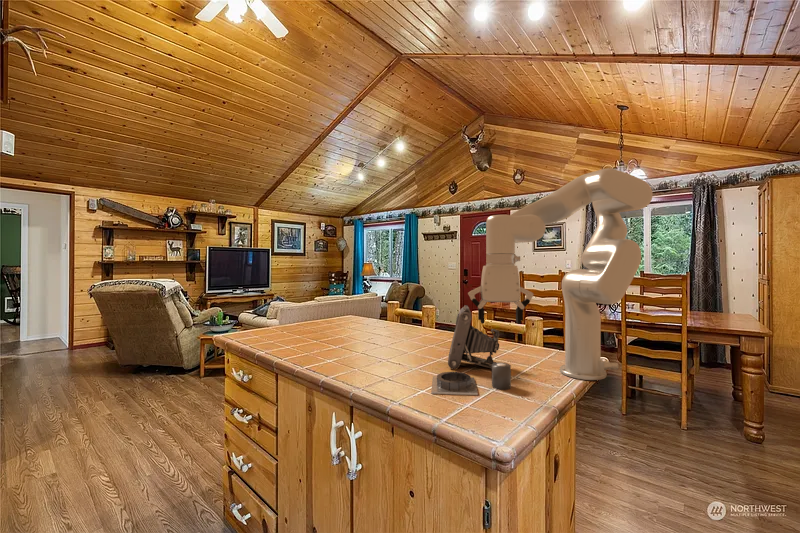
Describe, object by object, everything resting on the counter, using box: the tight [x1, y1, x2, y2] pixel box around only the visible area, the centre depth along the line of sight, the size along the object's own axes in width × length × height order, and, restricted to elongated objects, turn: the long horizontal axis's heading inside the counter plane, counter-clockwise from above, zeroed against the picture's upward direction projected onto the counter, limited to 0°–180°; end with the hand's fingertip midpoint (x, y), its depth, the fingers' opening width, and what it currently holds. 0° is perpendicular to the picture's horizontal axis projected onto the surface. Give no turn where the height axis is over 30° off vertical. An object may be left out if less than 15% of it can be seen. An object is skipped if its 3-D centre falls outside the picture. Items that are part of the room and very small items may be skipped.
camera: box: [447, 304, 501, 370], centre depth 117 cm, size 11×17×20 cm, turn 79°
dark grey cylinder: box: [491, 362, 512, 391], centre depth 98 cm, size 5×5×6 cm
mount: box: [430, 371, 479, 396], centre depth 99 cm, size 12×12×3 cm
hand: (500, 322), depth 98 cm, fingers open, 9 cm apart
